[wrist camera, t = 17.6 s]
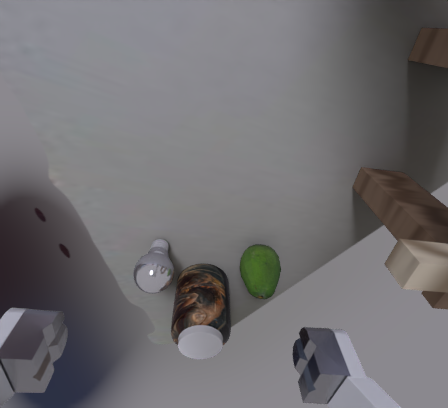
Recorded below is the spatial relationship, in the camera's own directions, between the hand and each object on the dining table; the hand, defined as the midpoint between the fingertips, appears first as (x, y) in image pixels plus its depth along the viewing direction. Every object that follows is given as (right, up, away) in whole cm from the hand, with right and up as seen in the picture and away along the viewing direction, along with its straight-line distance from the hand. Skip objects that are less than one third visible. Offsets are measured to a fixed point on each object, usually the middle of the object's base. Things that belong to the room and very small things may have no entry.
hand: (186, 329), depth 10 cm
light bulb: (-11, -3, +48) cm, 49 cm away
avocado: (+8, -5, +50) cm, 51 cm away
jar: (-3, -13, +55) cm, 56 cm away
